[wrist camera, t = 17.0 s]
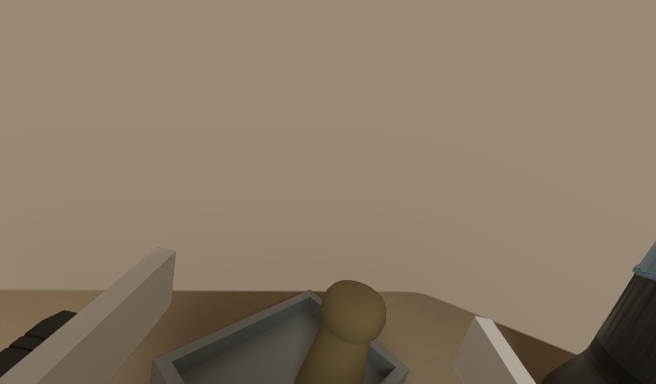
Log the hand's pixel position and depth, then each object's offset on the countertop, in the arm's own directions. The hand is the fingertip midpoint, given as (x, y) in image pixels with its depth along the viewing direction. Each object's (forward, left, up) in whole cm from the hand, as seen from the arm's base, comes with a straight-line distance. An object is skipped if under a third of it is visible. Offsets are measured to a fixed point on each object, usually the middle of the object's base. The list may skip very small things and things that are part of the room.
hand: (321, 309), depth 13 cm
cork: (-10, -3, -16) cm, 19 cm away
